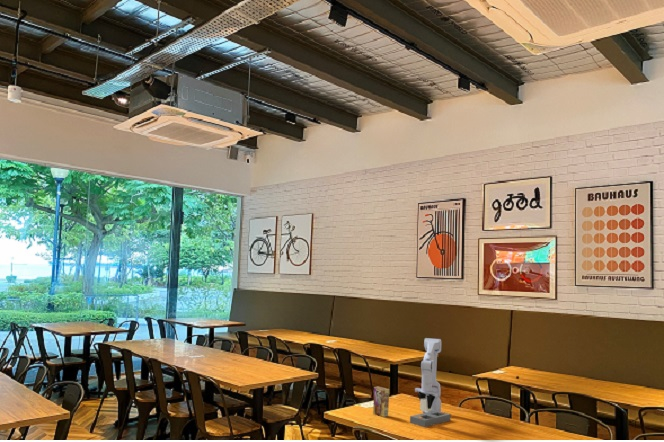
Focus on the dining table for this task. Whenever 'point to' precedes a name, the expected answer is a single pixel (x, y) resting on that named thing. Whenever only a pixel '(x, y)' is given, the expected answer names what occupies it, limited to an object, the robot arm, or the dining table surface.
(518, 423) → the dining table surface
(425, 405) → the plug
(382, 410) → the candy box
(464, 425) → the dining table surface
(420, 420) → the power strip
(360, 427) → the dining table surface
